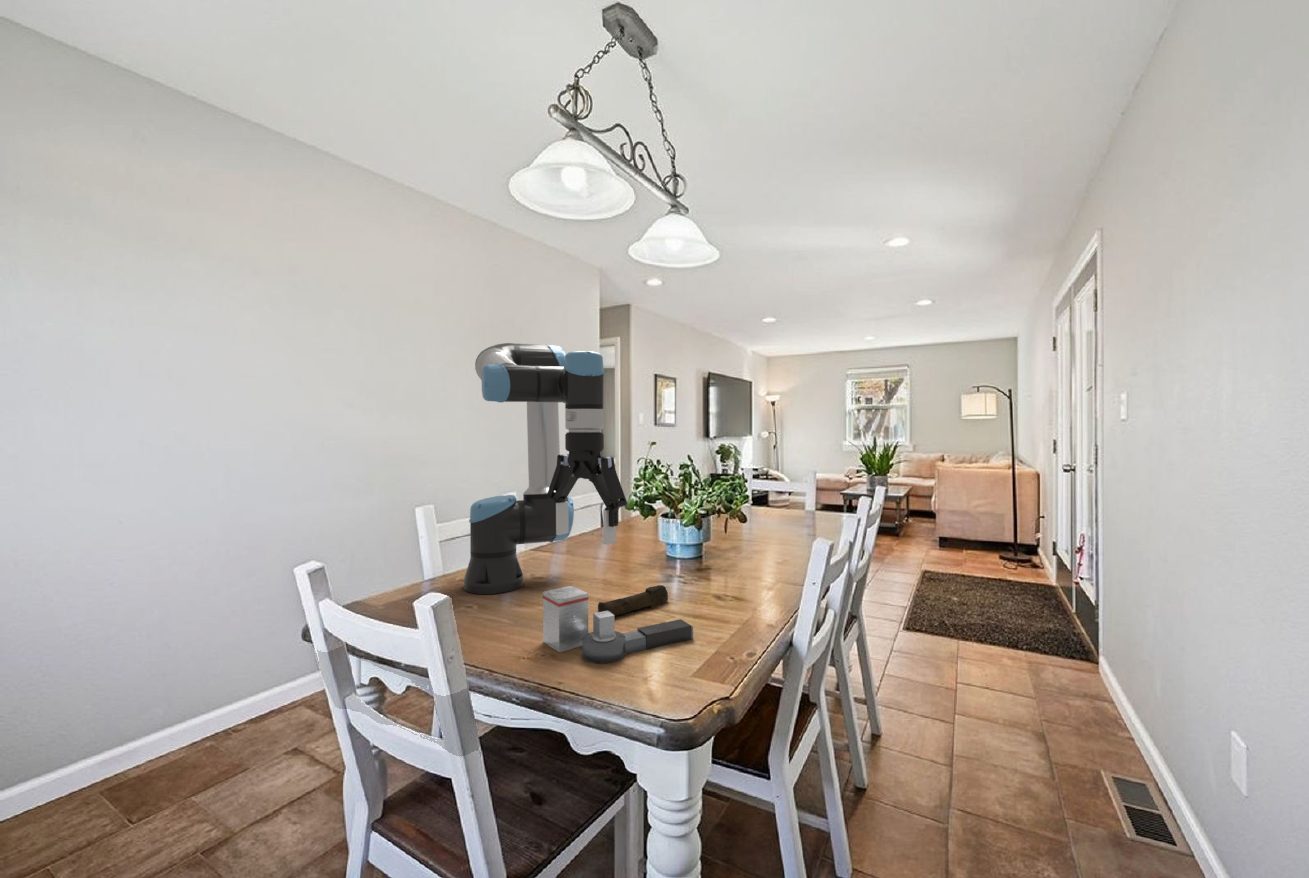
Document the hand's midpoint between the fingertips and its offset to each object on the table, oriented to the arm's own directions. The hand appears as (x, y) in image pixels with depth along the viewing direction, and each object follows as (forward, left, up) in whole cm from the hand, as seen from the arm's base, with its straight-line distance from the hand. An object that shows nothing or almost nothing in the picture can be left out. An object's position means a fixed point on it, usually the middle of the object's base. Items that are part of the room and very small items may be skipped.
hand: (585, 538), depth 110 cm
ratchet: (+9, +6, -20) cm, 23 cm away
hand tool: (-8, +18, -21) cm, 29 cm away
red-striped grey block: (-1, -4, -20) cm, 21 cm away
